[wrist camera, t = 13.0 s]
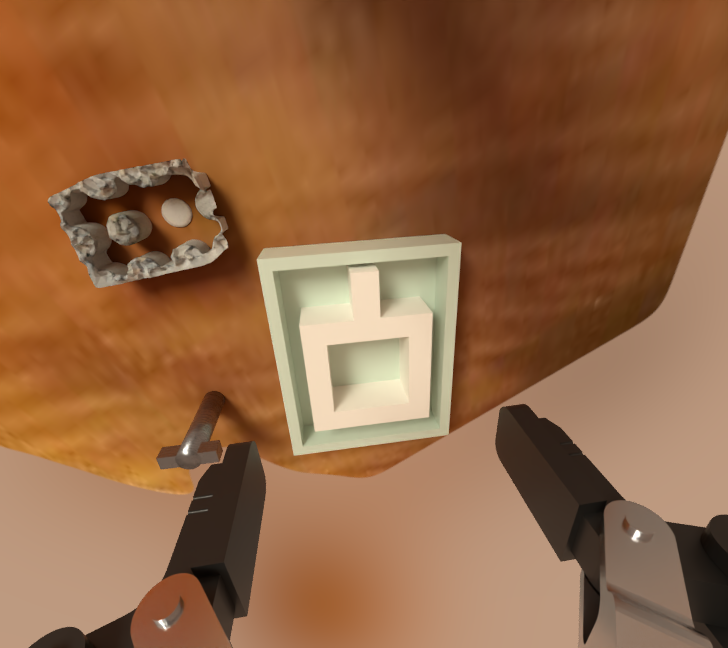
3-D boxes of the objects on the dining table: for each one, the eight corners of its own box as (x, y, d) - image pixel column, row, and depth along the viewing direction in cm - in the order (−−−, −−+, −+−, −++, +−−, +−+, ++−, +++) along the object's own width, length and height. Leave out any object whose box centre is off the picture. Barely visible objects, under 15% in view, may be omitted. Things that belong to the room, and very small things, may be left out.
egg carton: (205, 154, 26) (187, 152, 23) (239, 250, 30) (229, 262, 26) (65, 184, 26) (24, 188, 22) (116, 278, 29) (87, 294, 25)
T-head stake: (188, 394, 34) (154, 454, 27) (235, 388, 35) (214, 447, 28) (193, 409, 35) (162, 473, 28) (239, 404, 36) (220, 465, 28)
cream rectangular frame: (295, 264, 29) (292, 278, 26) (420, 253, 30) (434, 265, 27) (315, 404, 36) (314, 431, 32) (418, 392, 37) (429, 417, 33)
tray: (263, 248, 29) (256, 259, 26) (445, 233, 31) (461, 242, 27) (296, 429, 38) (293, 455, 34) (437, 411, 39) (448, 434, 36)
